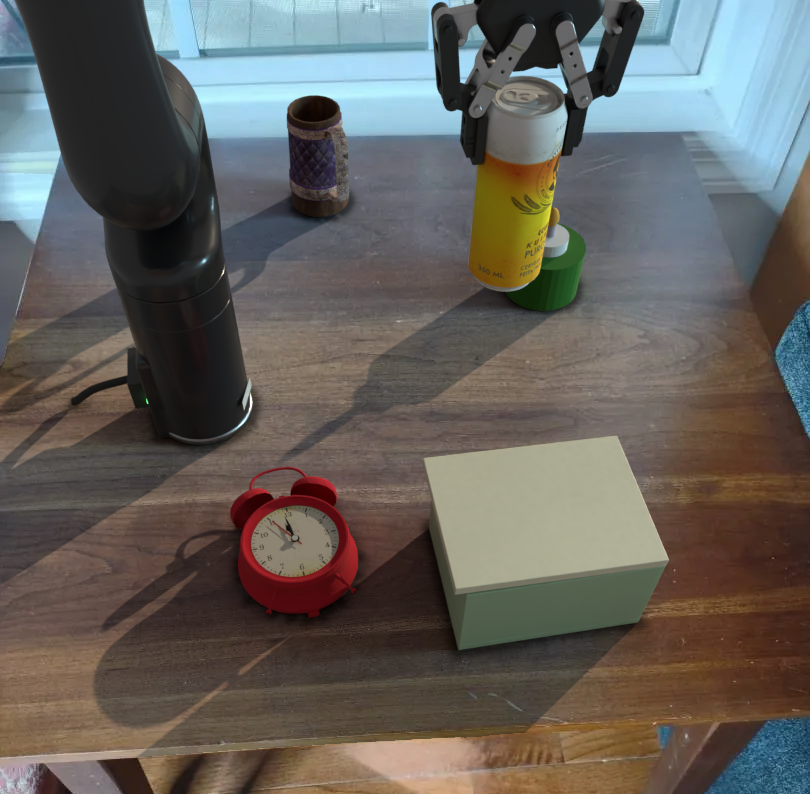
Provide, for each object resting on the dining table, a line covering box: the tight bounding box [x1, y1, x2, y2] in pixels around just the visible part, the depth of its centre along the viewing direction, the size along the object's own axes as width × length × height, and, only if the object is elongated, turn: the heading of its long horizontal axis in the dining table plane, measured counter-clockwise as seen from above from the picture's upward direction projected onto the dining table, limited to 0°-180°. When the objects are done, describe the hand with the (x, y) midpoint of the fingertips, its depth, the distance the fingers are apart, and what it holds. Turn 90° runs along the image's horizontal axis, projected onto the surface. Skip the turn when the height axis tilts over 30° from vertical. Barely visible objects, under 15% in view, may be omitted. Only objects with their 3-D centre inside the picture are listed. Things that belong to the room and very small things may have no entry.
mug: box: [286, 94, 350, 218], centre depth 100 cm, size 10×7×12 cm
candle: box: [505, 207, 587, 312], centre depth 93 cm, size 8×8×10 cm
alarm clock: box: [229, 466, 359, 619], centre depth 75 cm, size 10×6×15 cm
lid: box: [422, 435, 670, 595], centre depth 68 cm, size 16×13×1 cm
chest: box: [428, 499, 666, 651], centre depth 72 cm, size 16×13×9 cm
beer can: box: [466, 75, 568, 293], centre depth 66 cm, size 6×6×15 cm
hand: (518, 154), depth 64 cm, fingers closed on beer can, 6 cm apart
